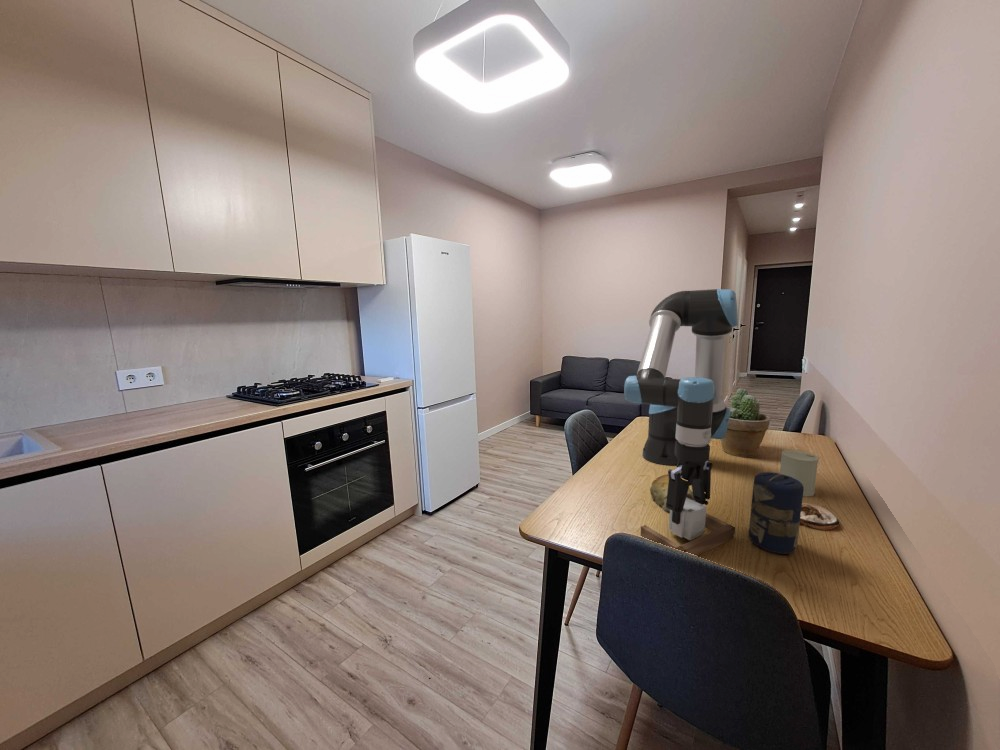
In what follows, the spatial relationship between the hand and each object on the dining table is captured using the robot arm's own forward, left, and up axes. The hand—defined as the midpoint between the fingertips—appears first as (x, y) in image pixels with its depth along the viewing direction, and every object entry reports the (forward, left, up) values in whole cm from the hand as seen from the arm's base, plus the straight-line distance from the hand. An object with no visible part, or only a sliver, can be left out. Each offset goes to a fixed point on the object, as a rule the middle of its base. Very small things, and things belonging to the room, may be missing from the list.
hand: (686, 530), depth 94 cm
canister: (+12, +15, -2) cm, 19 cm away
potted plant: (-28, +71, -2) cm, 76 cm away
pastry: (-14, +12, -2) cm, 19 cm away
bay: (0, 0, -2) cm, 2 cm away
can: (0, +53, -2) cm, 53 cm away
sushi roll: (+10, +37, -3) cm, 38 cm away
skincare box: (0, 0, -1) cm, 1 cm away
